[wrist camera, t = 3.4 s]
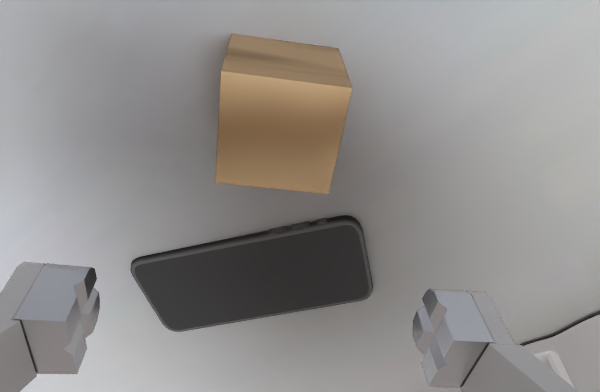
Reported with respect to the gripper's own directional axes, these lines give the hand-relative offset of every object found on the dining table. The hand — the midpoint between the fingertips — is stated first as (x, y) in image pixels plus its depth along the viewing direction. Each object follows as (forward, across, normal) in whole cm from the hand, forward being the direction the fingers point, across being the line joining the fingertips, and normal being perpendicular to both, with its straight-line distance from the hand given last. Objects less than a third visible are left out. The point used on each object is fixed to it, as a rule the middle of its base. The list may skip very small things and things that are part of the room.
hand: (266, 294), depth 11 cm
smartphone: (+14, -1, +13) cm, 19 cm away
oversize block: (+14, -1, 0) cm, 14 cm away
